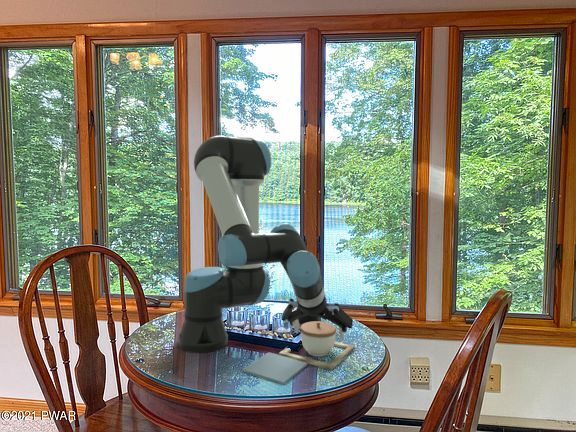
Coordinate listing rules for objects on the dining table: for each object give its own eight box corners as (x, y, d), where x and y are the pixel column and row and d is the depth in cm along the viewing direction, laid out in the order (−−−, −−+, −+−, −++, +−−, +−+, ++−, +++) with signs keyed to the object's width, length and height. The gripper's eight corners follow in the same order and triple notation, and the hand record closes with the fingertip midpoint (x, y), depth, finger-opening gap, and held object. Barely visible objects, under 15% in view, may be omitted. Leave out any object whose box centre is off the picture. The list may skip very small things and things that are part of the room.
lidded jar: (333, 361, 117) (334, 330, 116) (296, 357, 119) (297, 326, 118) (336, 346, 127) (337, 317, 127) (302, 343, 130) (303, 314, 129)
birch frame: (279, 355, 120) (279, 352, 120) (305, 336, 135) (305, 334, 135) (331, 370, 112) (331, 367, 112) (354, 348, 126) (354, 346, 126)
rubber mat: (242, 371, 110) (242, 369, 110) (268, 354, 121) (268, 352, 121) (283, 384, 103) (283, 382, 103) (307, 365, 114) (307, 362, 114)
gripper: (261, 303, 107) (277, 338, 122) (357, 314, 100) (360, 349, 116) (268, 279, 111) (282, 315, 127) (360, 287, 104) (363, 325, 120)
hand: (319, 331), depth 121 cm, fingers open, 13 cm apart
